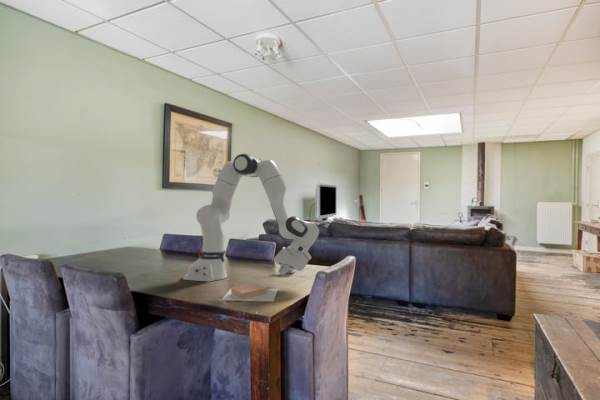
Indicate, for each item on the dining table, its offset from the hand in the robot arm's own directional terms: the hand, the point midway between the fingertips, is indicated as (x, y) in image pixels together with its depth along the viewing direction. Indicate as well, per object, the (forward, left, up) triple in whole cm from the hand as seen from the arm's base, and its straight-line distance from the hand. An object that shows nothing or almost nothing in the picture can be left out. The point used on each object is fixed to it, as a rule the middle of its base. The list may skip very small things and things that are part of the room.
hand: (280, 273), depth 155 cm
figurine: (+2, +35, -8) cm, 36 cm away
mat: (-12, -10, -8) cm, 17 cm away
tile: (-8, -7, -6) cm, 12 cm away
